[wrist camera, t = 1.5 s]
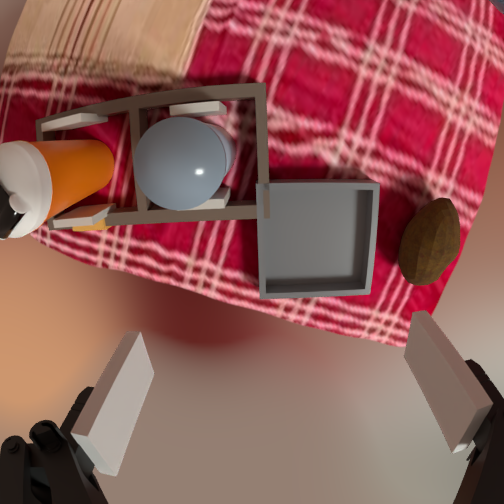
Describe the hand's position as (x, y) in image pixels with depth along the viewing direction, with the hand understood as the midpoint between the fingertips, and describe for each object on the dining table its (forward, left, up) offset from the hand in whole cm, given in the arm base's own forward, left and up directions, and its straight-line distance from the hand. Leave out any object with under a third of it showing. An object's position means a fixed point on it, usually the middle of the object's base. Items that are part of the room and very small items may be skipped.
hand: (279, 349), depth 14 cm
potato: (+4, +21, -28) cm, 35 cm away
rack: (-7, -15, -27) cm, 32 cm away
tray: (+4, +6, -27) cm, 28 cm away
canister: (-7, -7, -27) cm, 29 cm away
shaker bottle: (-7, -23, -27) cm, 37 cm away
